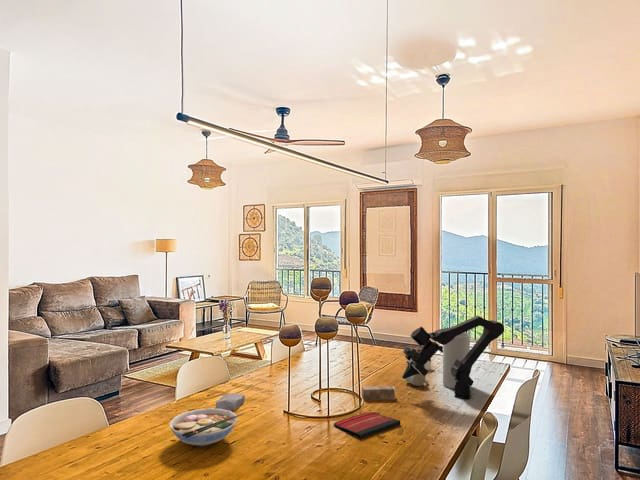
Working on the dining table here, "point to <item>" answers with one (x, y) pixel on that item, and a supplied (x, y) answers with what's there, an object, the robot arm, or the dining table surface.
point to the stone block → (230, 401)
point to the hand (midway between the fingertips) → (402, 378)
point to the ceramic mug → (417, 379)
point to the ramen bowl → (203, 426)
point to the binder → (366, 424)
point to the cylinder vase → (454, 357)
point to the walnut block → (378, 392)
